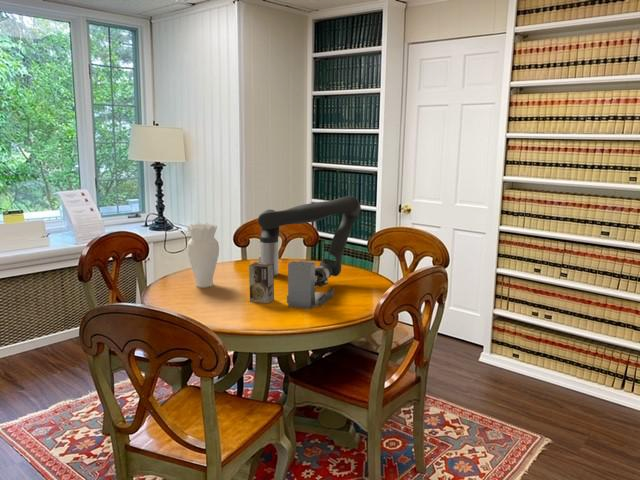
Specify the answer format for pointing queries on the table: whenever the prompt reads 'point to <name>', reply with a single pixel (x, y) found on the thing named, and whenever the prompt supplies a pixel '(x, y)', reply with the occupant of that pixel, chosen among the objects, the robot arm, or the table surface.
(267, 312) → the table surface
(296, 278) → the grey metal bracket
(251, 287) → the coffee box
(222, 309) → the table surface
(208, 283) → the vase
